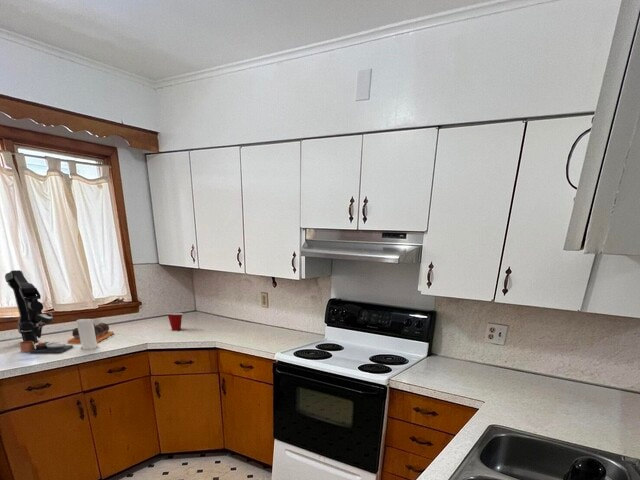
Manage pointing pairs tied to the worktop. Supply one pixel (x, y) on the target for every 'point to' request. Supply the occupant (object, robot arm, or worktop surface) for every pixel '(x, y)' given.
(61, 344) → the scale pan
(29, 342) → the bowl
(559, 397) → the worktop surface
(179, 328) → the plastic cup
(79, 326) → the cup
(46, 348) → the scale
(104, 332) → the brown piece
